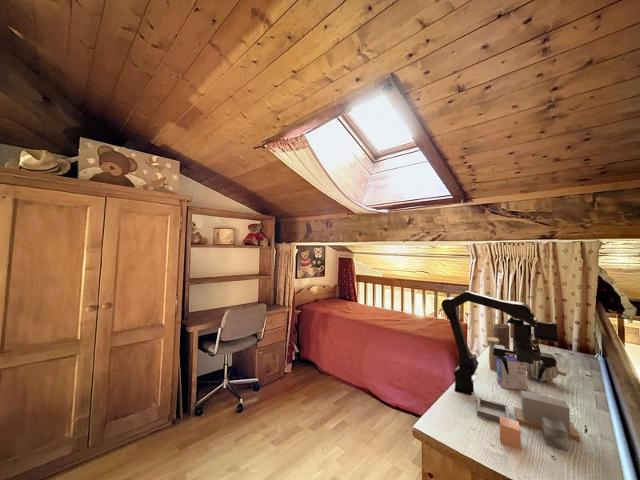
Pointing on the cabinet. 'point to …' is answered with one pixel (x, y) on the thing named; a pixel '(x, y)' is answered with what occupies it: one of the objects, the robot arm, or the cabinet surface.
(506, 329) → the candle
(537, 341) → the doll family
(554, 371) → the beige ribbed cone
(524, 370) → the ink cartridge box
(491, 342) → the handle
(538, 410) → the mounted unit
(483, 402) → the tray
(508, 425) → the terracotta block
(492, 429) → the cabinet surface
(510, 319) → the robot arm
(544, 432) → the grey block
